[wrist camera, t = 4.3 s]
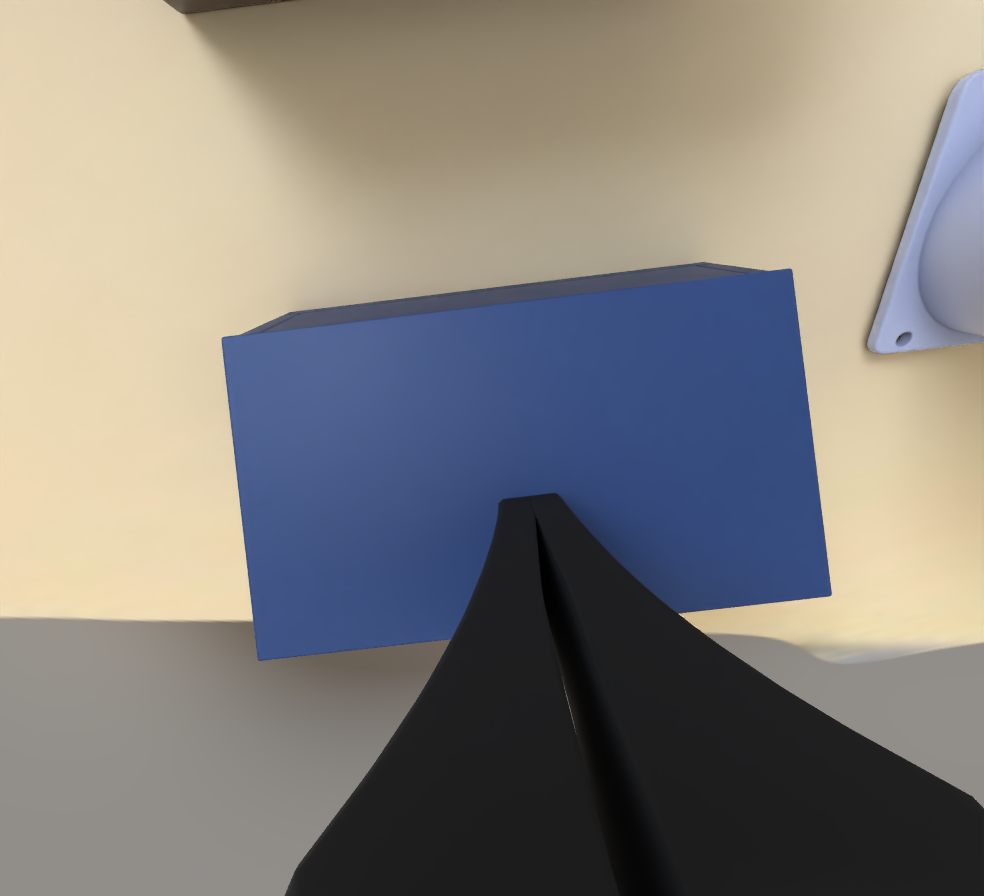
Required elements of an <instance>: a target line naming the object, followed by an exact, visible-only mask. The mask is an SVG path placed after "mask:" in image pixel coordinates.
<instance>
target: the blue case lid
mask: <svg viewBox="0 0 984 896" xmlns="http://www.w3.org/2000/svg"><path fill="white" fill-rule="evenodd" d="M222 348H223V357H224V366H225V375H226V384H227V392H228V401H229V410H230V419H231V428H232V437H233V445H234V454H235V463H236V472H237V481H238V489H239V498H240V507H241V516H242V525H243V533H244V542H245V551H246V560H247V569H248V577H249V586H250V595H251V604H252V613H253V621H254V630H255V639H256V648H257V656H258V660H259V661H262V660H271V659H280V658H289V657H297V656H306V655H314V654H324V653H333V652H341V651H351V650H359V649H368V648H377V647H386V646H395V645H404V644H411V643H420V642H429V641H439V640H448V639H452V637H453V635H454V633H455V631H456V629H457V627H458V625H459V623H460V621H461V619H462V617H463V615H464V613H465V610H466V608H467V606H468V604H469V602H470V599H471V597H472V594H473V592H474V589H475V587H476V585H477V582H478V580H479V577H480V575H481V572H482V570H483V567H484V564H485V561H486V558H487V555H488V551H489V548H490V545H491V542H492V539H493V535H494V531H495V527H496V522H497V516H498V503H499V502H500V501H501V500H502V499H506V498H515V497H523V496H532V495H540V494H549V493H557V494H558V495H560V496H561V497H562V499H563V500H564V502H565V503H566V504H567V505H568V507H569V508H570V509H571V510H572V512H573V513H574V514H575V515H576V517H577V518H578V519H579V520H580V521H581V522H582V524H583V525H584V526H585V527H586V528H587V529H588V530H589V531H590V533H591V534H592V535H593V536H594V537H595V538H596V539H597V540H598V541H599V542H600V543H601V544H602V545H603V546H604V547H605V548H606V549H607V550H608V551H609V552H610V554H611V555H612V556H613V557H614V558H615V559H616V560H617V561H619V562H620V563H621V564H622V565H623V566H624V567H625V568H626V569H627V570H628V571H629V572H630V573H631V574H632V575H633V576H634V577H636V578H637V579H638V580H639V581H640V582H641V583H642V584H643V585H644V586H645V587H647V588H648V589H649V590H650V591H651V592H652V593H653V594H655V595H656V596H657V597H658V598H659V599H660V600H662V601H663V602H664V603H665V604H666V605H668V606H669V607H670V608H671V609H673V610H674V611H675V612H677V613H687V612H695V611H704V610H713V609H722V608H731V607H740V606H749V605H757V604H766V603H775V602H784V601H793V600H802V599H810V598H819V597H828V596H831V595H832V592H831V583H830V575H829V567H828V559H827V551H826V543H825V534H824V526H823V518H822V510H821V502H820V493H819V485H818V477H817V469H816V461H815V453H814V444H813V436H812V428H811V420H810V412H809V404H808V395H807V387H806V379H805V371H804V363H803V355H802V346H801V338H800V330H799V322H798V314H797V305H796V297H795V289H794V281H793V273H792V269H782V270H774V271H765V272H757V273H749V274H741V275H732V276H724V277H716V278H708V279H699V280H691V281H683V282H674V283H666V284H658V285H650V286H641V287H633V288H625V289H617V290H608V291H600V292H592V293H584V294H575V295H567V296H559V297H550V298H542V299H534V300H526V301H517V302H509V303H501V304H493V305H484V306H476V307H468V308H460V309H451V310H443V311H435V312H426V313H418V314H410V315H402V316H393V317H385V318H377V319H369V320H360V321H352V322H344V323H336V324H327V325H319V326H311V327H302V328H294V329H286V330H278V331H269V332H261V333H253V334H245V335H236V336H228V337H223V338H222Z"/></svg>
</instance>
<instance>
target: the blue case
mask: <svg viewBox="0 0 984 896" xmlns="http://www.w3.org/2000/svg"><path fill="white" fill-rule="evenodd" d="M757 272H765V270H757V269H750V268H742V267H735V266H727V265H720V264H712V263H706V262H701V263H693V264H685V265H677V266H669V267H660V268H652V269H644V270H636V271H627V272H619V273H611V274H603V275H594V276H586V277H578V278H570V279H561V280H553V281H545V282H537V283H528V284H520V285H512V286H504V287H496V288H487V289H479V290H471V291H463V292H454V293H446V294H438V295H430V296H421V297H413V298H405V299H397V300H388V301H380V302H372V303H364V304H355V305H347V306H339V307H331V308H322V309H314V310H306V311H298V312H290V313H288V314H285V315H284V316H281V317H279V318H276V319H274V320H272V321H270V322H268V323H265V324H263V325H261V326H259V327H256V328H254V329H252V330H250V331H248V332H245V333H243V334H241V335H245V334H253V333H261V332H269V331H278V330H286V329H294V328H302V327H311V326H319V325H327V324H336V323H344V322H352V321H360V320H369V319H377V318H385V317H393V316H402V315H410V314H418V313H426V312H435V311H443V310H451V309H460V308H468V307H476V306H484V305H493V304H501V303H509V302H517V301H526V300H534V299H542V298H550V297H559V296H567V295H575V294H584V293H592V292H600V291H608V290H617V289H625V288H633V287H641V286H650V285H658V284H666V283H674V282H683V281H691V280H699V279H708V278H716V277H724V276H732V275H741V274H749V273H757Z"/></svg>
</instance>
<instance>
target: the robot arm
mask: <svg viewBox="0 0 984 896" xmlns="http://www.w3.org/2000/svg"><path fill="white" fill-rule="evenodd" d="M900 335H901V337H900V338H899V340H898V341H896V340H897V339H898V337H899V336H900ZM982 342H984V69H982V70H979V71H976V72H973V73H970V74H967V75H966V76H965V77H963V78H962V79H961V80H959V82H958V83H957V84H956V85H955V87H954V88H953V90H952V92H951V94H950V96H949V99H948V102H947V105H946V108H945V111H944V114H943V117H942V120H941V123H940V126H939V129H938V132H937V135H936V138H935V141H934V144H933V147H932V150H931V153H930V156H929V159H928V162H927V165H926V168H925V171H924V174H923V177H922V180H921V183H920V186H919V189H918V192H917V195H916V198H915V201H914V204H913V207H912V210H911V213H910V216H909V219H908V222H907V225H906V228H905V231H904V234H903V237H902V240H901V243H900V246H899V249H898V252H897V255H896V258H895V261H894V264H893V267H892V270H891V273H890V276H889V279H888V282H887V285H886V288H885V291H884V294H883V297H882V300H881V303H880V306H879V309H878V312H877V315H876V318H875V321H874V324H873V327H872V330H871V333H870V336H869V339H868V343H867V346H868V349H869V350H870V351H872V352H875V353H878V354H889V353H898V352H906V351H915V350H923V349H932V348H940V347H948V346H957V345H965V344H974V343H982ZM563 683H564V685H563ZM564 687H565V689H564ZM565 690H566V693H565ZM566 694H567V697H568V701H569V705H570V709H571V712H570V709H569V705H568V701H567V697H566ZM571 713H572V717H573V720H572V717H571ZM573 721H574V724H573ZM574 726H575V728H574ZM575 731H576V732H575ZM285 896H984V808H983V807H982V806H981V805H980V804H979V803H978V802H977V801H976V800H975V799H974V798H973V797H972V796H970V795H968V794H967V793H965V792H963V791H961V790H960V789H957V788H956V787H954V786H952V785H951V784H949V783H947V782H945V781H943V780H942V779H940V778H938V777H936V776H934V775H932V774H931V773H929V772H927V771H925V770H924V769H921V768H920V767H918V766H916V765H915V764H913V763H911V762H909V761H907V760H906V759H904V758H902V757H900V756H898V755H896V754H894V753H893V752H891V751H889V750H888V749H886V748H884V747H882V746H880V745H878V744H877V743H875V742H873V741H871V740H869V739H868V738H866V737H864V736H862V735H861V734H859V733H857V732H855V731H853V730H852V729H850V728H848V727H846V726H844V725H843V724H841V723H840V722H838V721H836V720H835V719H833V718H831V717H830V716H828V715H826V714H825V713H823V712H822V711H820V710H818V709H817V708H815V707H813V706H812V705H810V704H808V703H807V702H805V701H803V700H802V699H800V698H799V697H797V696H795V695H794V694H792V693H790V692H789V691H787V690H786V689H784V688H782V687H781V686H779V685H778V684H776V683H775V682H773V681H772V680H770V679H769V678H767V677H766V676H764V675H763V674H762V673H760V672H759V671H757V670H756V669H754V668H753V667H751V666H750V665H748V664H747V663H745V662H744V661H742V660H741V659H739V658H738V657H736V656H735V655H733V654H732V653H730V652H729V651H727V650H726V649H725V648H723V647H721V646H720V645H719V644H717V643H716V642H715V641H713V640H712V639H711V638H709V637H708V636H706V635H705V634H704V633H702V632H701V631H700V630H698V629H697V628H696V627H694V626H693V625H692V624H690V623H689V622H688V621H687V620H685V619H684V618H683V617H682V616H680V615H679V614H678V613H677V612H675V611H674V610H673V609H671V608H670V607H669V606H668V605H666V604H665V603H664V602H663V601H662V600H660V599H659V598H658V597H657V596H656V595H655V594H653V593H652V592H651V591H650V590H649V589H648V588H647V587H645V586H644V585H643V584H642V583H641V582H640V581H639V580H638V579H637V578H636V577H634V576H633V575H632V574H631V573H630V572H629V571H628V570H627V569H626V568H625V567H624V566H623V565H622V564H621V563H620V562H619V561H617V560H616V559H615V558H614V557H613V556H612V555H611V554H610V552H609V551H608V550H607V549H606V548H605V547H604V546H603V545H602V544H601V543H600V542H599V541H598V540H597V539H596V538H595V537H594V536H593V535H592V534H591V533H590V531H589V530H588V529H587V528H586V527H585V526H584V525H583V524H582V522H581V521H580V520H579V519H578V518H577V517H576V515H575V514H574V513H573V512H572V510H571V509H570V508H569V507H568V505H567V504H566V503H565V502H564V500H563V499H562V497H561V496H560V495H558V494H557V493H549V494H540V495H532V496H523V497H515V498H506V499H502V500H501V501H500V502H499V503H498V516H497V522H496V527H495V531H494V535H493V539H492V542H491V545H490V548H489V551H488V555H487V558H486V561H485V564H484V567H483V570H482V572H481V575H480V577H479V580H478V582H477V585H476V587H475V589H474V592H473V594H472V597H471V599H470V602H469V604H468V606H467V608H466V610H465V613H464V615H463V617H462V619H461V621H460V623H459V625H458V627H457V629H456V631H455V633H454V635H453V637H452V639H451V641H450V643H449V645H448V647H447V649H446V650H445V652H444V654H443V656H442V657H441V659H440V661H439V663H438V665H437V666H436V668H435V670H434V672H433V673H432V675H431V677H430V679H429V680H428V682H427V684H426V685H425V687H424V689H423V690H422V692H421V694H420V695H419V697H418V699H417V700H416V702H415V703H414V705H413V706H412V708H411V709H410V711H409V712H408V714H407V716H406V717H405V719H404V720H403V721H402V723H401V724H400V726H399V727H398V729H397V731H396V732H395V733H394V735H393V737H392V738H391V740H390V741H389V743H388V744H387V746H386V747H385V748H384V750H383V752H382V753H381V754H380V756H379V757H378V759H377V760H376V762H375V763H374V765H373V766H372V767H371V769H370V770H369V772H368V773H367V774H366V776H365V777H364V779H363V780H362V781H361V783H360V784H359V785H358V787H357V788H356V789H355V791H354V792H353V793H352V795H351V796H350V798H349V799H348V800H347V801H346V803H345V804H344V805H343V807H342V808H341V809H340V811H339V812H338V813H337V815H336V816H335V817H334V819H333V820H332V821H331V823H330V824H329V825H328V826H327V828H326V829H325V830H324V832H323V833H322V835H321V836H320V837H319V838H318V840H317V841H316V842H315V844H314V845H313V847H312V848H311V849H310V850H309V852H308V853H307V854H306V856H305V857H304V858H303V860H302V861H301V862H300V864H299V865H298V867H297V868H296V870H295V872H294V875H293V877H292V879H291V882H290V884H289V886H288V889H287V891H286V894H285Z"/></svg>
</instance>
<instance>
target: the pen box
mask: <svg viewBox="0 0 984 896" xmlns="http://www.w3.org/2000/svg"><path fill="white" fill-rule="evenodd" d="M164 1H165V2H166V3H168V4H169V5H170V6H172V7H173V8H174V9H176V10H177V11H178V12H180V13H182V14H185V13H192V12H200V11H208V10H216V9H224V8H231V7H239V6H247V5H255V4H262V3H270V2H278V1H286V0H164Z"/></svg>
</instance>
